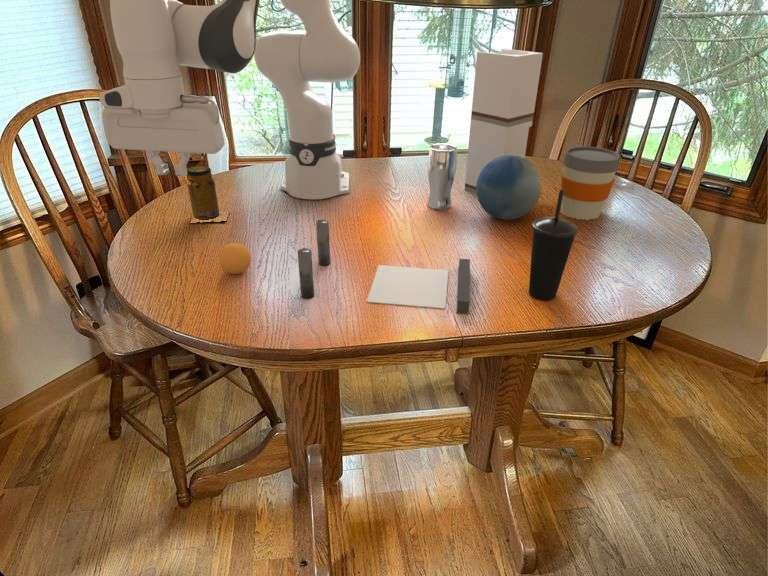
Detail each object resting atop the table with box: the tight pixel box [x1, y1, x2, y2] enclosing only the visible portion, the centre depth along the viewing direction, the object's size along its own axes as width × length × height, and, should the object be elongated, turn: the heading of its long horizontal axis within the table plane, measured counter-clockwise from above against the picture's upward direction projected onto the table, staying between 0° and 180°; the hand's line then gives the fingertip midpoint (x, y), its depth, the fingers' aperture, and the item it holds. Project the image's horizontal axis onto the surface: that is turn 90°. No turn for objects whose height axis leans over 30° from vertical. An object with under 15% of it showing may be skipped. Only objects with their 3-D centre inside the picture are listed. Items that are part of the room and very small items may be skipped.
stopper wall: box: [456, 258, 471, 315], centre depth 98 cm, size 16×2×2 cm, turn 172°
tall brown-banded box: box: [463, 48, 544, 195], centre depth 136 cm, size 11×11×35 cm
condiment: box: [186, 165, 220, 220], centre depth 124 cm, size 7×8×12 cm
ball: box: [218, 242, 252, 275], centre depth 102 cm, size 6×6×6 cm
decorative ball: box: [475, 155, 542, 221], centre depth 125 cm, size 15×15×15 cm
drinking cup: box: [528, 189, 579, 302], centre depth 92 cm, size 8×8×20 cm
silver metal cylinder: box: [427, 143, 458, 211], centre depth 131 cm, size 7×7×15 cm
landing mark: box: [366, 264, 449, 310], centre depth 99 cm, size 14×14×1 cm
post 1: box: [297, 247, 315, 300], centre depth 94 cm, size 2×2×9 cm
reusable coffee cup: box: [560, 146, 621, 221], centre depth 128 cm, size 13×13×15 cm
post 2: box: [315, 219, 331, 267], centre depth 105 cm, size 2×2×9 cm
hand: (172, 174), depth 95 cm, fingers open, 2 cm apart
